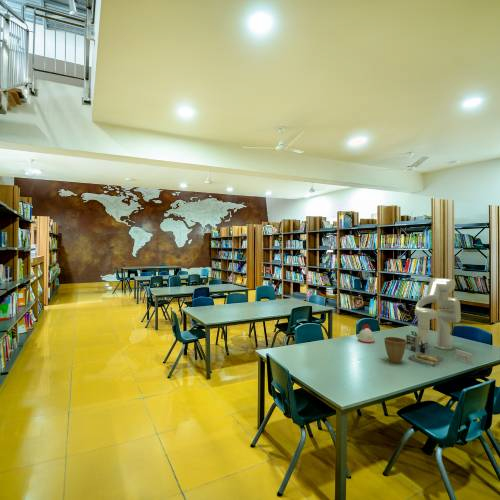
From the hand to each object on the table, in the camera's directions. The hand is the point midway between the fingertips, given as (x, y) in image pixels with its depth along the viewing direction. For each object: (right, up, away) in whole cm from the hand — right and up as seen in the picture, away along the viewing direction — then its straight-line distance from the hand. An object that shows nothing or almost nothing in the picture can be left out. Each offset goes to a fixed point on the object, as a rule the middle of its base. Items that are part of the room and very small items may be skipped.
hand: (423, 352), depth 230 cm
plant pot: (-20, -7, +1) cm, 22 cm away
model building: (+8, -7, +27) cm, 29 cm away
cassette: (+29, -7, -1) cm, 30 cm away
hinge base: (+4, -7, +3) cm, 9 cm away
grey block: (0, -1, 0) cm, 1 cm away
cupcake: (-23, -7, +50) cm, 56 cm away
